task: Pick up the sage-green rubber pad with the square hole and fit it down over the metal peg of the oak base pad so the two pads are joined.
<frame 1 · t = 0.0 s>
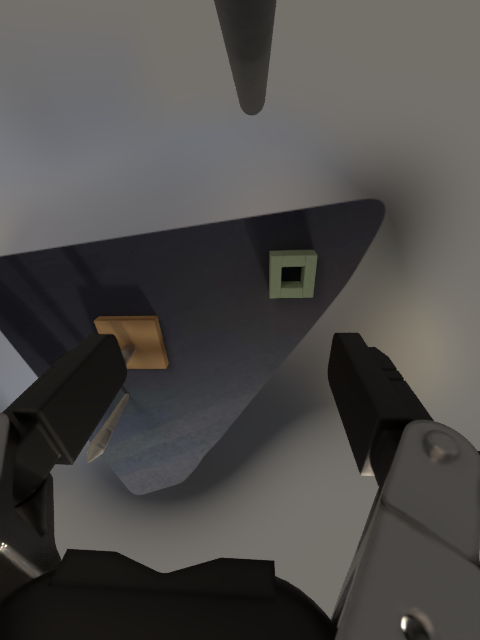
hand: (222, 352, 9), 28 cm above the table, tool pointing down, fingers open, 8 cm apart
rubber pad: (290, 271, 36), on the table
base pad: (135, 341, 44), on the table
pen: (128, 393, 51), on the table
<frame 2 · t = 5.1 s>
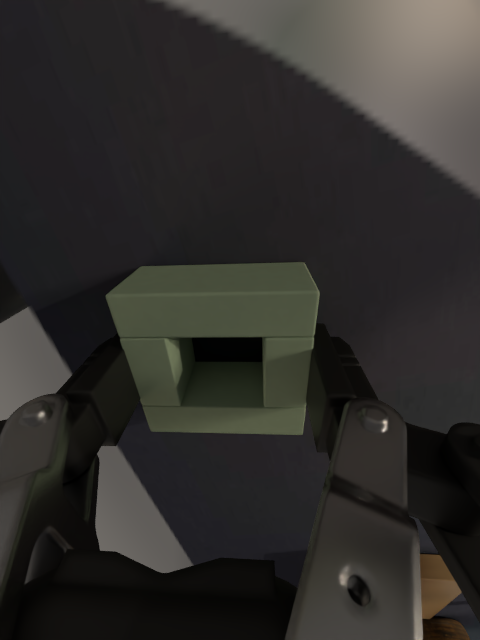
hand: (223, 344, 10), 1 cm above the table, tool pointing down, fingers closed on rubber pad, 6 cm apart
rubber pad: (226, 333, 11), on the table, touching gripper
base pad: (380, 574, 23), on the table
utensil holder: (432, 621, 29), on the table
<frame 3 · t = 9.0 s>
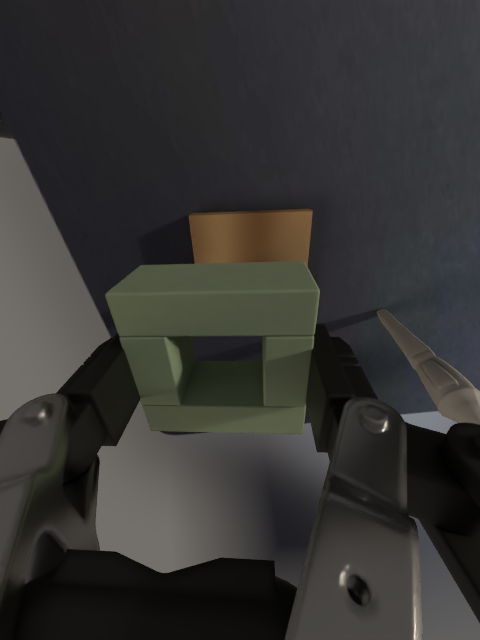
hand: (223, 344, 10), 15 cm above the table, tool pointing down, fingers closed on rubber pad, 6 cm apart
rubber pad: (226, 332, 11), point 15 cm above the table, touching gripper
base pad: (251, 267, 24), on the table
pen: (378, 311, 26), on the table
when the fingers open (2 cm above the table, at t = 13.2 s): rubber pad stays where it is, resting on base pad.
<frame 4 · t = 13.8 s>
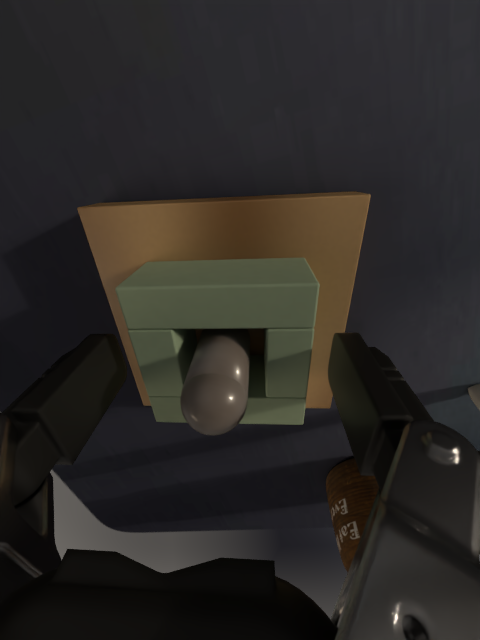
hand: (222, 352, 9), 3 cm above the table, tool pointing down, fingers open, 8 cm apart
rubber pad: (229, 327, 11), point 1 cm above the table, touching base pad
base pad: (230, 311, 12), on the table
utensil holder: (363, 475, 19), on the table
pen: (470, 386, 14), on the table
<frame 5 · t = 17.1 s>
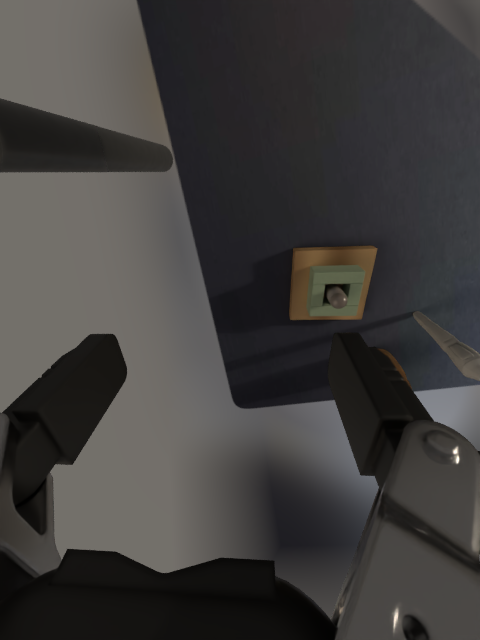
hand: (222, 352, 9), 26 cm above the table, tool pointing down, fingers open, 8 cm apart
rubber pad: (330, 287, 34), point 1 cm above the table, touching base pad
base pad: (327, 283, 35), on the table
pen: (414, 312, 37), on the table
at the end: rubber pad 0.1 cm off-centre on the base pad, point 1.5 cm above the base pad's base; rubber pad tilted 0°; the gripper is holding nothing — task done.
